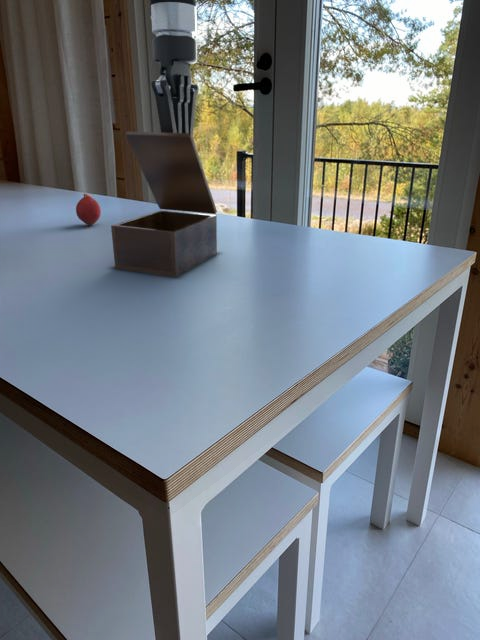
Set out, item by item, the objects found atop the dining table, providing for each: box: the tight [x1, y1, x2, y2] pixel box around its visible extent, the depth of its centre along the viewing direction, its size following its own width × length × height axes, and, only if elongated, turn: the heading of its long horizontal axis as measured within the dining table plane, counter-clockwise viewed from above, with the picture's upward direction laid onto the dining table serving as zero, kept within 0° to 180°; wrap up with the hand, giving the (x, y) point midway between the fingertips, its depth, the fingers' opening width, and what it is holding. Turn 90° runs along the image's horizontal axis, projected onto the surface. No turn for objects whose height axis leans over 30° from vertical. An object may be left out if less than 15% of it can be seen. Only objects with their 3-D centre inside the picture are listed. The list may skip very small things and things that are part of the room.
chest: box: [110, 209, 218, 278], centre depth 89 cm, size 17×13×8 cm
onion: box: [75, 192, 102, 227], centre depth 117 cm, size 6×6×8 cm
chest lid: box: [125, 131, 218, 215], centre depth 87 cm, size 18×13×1 cm
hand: (179, 180), depth 90 cm, fingers closed
